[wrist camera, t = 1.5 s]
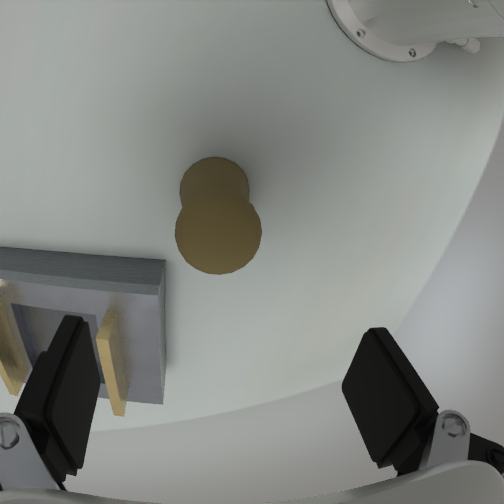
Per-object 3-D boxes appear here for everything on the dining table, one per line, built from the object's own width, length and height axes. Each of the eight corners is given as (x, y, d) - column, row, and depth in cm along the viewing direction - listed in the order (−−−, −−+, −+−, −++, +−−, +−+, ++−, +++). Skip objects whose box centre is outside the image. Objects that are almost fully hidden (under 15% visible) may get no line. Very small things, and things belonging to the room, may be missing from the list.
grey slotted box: (165, 260, 30) (152, 323, 22) (166, 365, 36) (161, 430, 27) (-7, 246, 26) (-55, 292, 18) (19, 345, 32) (-8, 398, 24)
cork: (249, 222, 30) (271, 287, 20) (181, 225, 29) (170, 293, 19) (249, 155, 27) (275, 189, 17) (177, 158, 26) (160, 194, 16)
